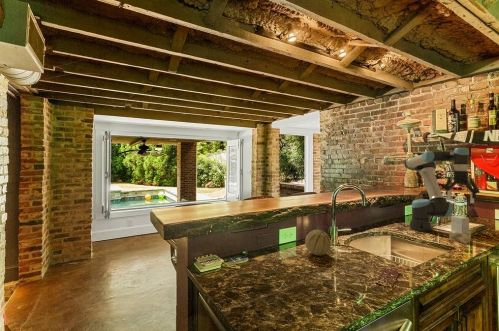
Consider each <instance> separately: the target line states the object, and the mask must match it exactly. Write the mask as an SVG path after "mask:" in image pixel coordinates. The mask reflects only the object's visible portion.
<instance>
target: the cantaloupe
mask: <svg viewBox="0 0 499 331" xmlns="http://www.w3.org/2000/svg"><path fill="white" fill-rule="evenodd" d="M331 242H332V241H331V239H330V236H329V234H328V233H326V232H325V231H324V229H322V230H320V229H313V230H311V231H310V232H309V233H307V234H306V237H305V239H304V244H305V248H306V250H307V251H308V252H310V253H311V254H312V255H314V256H324V255H327V253H328V252H329V250H330V249H331V245H332V243H331Z"/></svg>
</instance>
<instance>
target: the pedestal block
mask: <svg viewBox="0 0 499 331" xmlns="http://www.w3.org/2000/svg"><path fill="white" fill-rule="evenodd" d="M448 238H449V241H452V242H456V243H461V244H465V245H467V244H468V243H470V242H471V240H472V232H470V231H469V233H468V234H461V233H458V232H454V231H451V230H450V231H449V234H448Z"/></svg>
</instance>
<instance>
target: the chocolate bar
mask: <svg viewBox="0 0 499 331" xmlns="http://www.w3.org/2000/svg"><path fill="white" fill-rule="evenodd" d="M386 269H387V270H386ZM389 270H390V271H389ZM385 271H389V273H388V272H385ZM381 272H382V273H381ZM384 272H385V273H388V275H387V274H384ZM391 272H392V273H391ZM398 272H400V271H398V270H397V269H395V270H394V269H393V268H390V269H389V268H387V266H385V267H383V269H382V270H381V271H380V273H379V275H378V276H377V278H376V279H375V281H376V280H377V281H378V280H380V278H381V277H382V275H383V274H384V275H387V276H383V277H384V279H386V280H388V278H389V276H391V275H390V274H392V275H394V276H391V277H394V278H390V279H391V280H392V279H394V280H396V279H395V278H397V277H396V276H398V275H397V274H399V273H398ZM396 273H397V274H396ZM399 275H400V274H399ZM385 277H386V278H385ZM398 277H399V276H398ZM397 279H398V278H397ZM386 280H384V282H386ZM391 280H389V281H387V283H386V285H388V283H391ZM394 280H392V282H395V281H394ZM396 281H397V280H396ZM378 283H380V281H378ZM381 283H382V284H383V282H381ZM395 283H396V282H395ZM391 284H393V283H391Z"/></svg>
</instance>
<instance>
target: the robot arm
mask: <svg viewBox="0 0 499 331" xmlns="http://www.w3.org/2000/svg"><path fill="white" fill-rule="evenodd" d="M469 155H470V151H469V148H468V147H456V148H454V150H427V151H426V150H425V151H423V153H422V154H420V155H417V156H409V157H407V158H405V159H404V161H403V167H405V169H407V170H410V171H418V174H419V175H421V176H422V179H423V182H424V185H425V189H426V192H427V194H428V197H429V199H427V198H425V199H424V198H420V199H418V198H417V199H414V200H413V201H411V220H410V222H409V224H408V228H409V229H410V230H413V231H417V232H426V233H431V232H433V226H432V223H431V217H435V218H436V217H438V218H440V217H441V218H444V217H445V218H446V217H447V218H448V217H450V216H452V214H453V211H454V206H453V204H452V202H450V201H451V200H452V189H453V188H454V187H455V186H456V185H464V186H465V187H466V188H467V189H468V190H469V192H471V193H470V198H469V199H470V201H469V203H470V204H475V199H476V198H477V194H479V193H480V190H479V188H478V186H477V184H476V182H475V179H474V177H473V178H472V177H471V178H469V161H470V160H469V159H470V156H469ZM437 162H453V163H454V164H453V176H449V177H448V179H447V181H446V183H445V184H444V186H443V188H442V190H445V191H446V192H445V194H446V195H447V197H444V196H443V193H442V191H441V188H440V185H439V182H438V180H437V178H436V175H435V172H436V169H437ZM452 181H453V182H452Z"/></svg>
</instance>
